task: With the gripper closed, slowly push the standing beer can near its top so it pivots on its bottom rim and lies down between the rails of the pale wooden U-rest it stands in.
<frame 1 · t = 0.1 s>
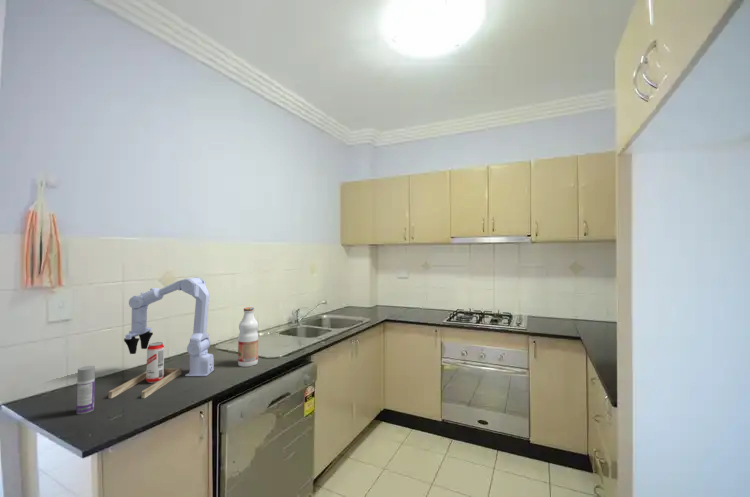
hand: (138, 351, 151), 10 cm above the table, tool pointing down, fingers open, 7 cm apart
beer can: (154, 381, 142), resting in u rest
fruit juice: (248, 364, 165), on the table
u rest: (147, 385, 137), on the table
container: (85, 411, 115), on the table
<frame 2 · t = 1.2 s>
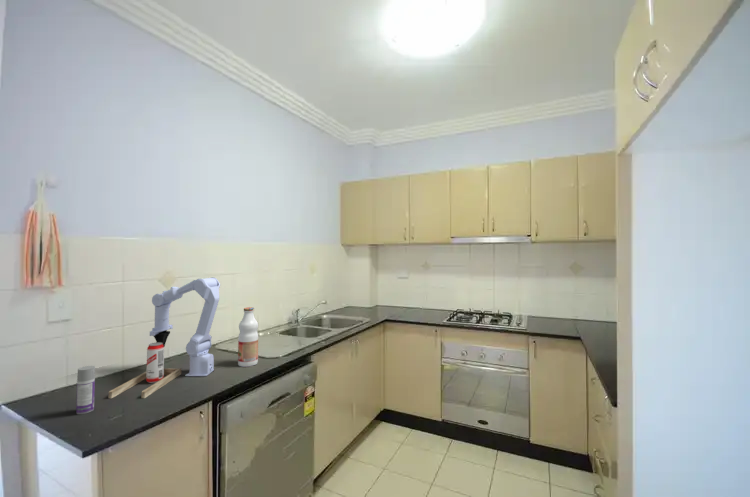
hand: (161, 347, 156), 10 cm above the table, tool pointing down, fingers closed
nothing on the table moved.
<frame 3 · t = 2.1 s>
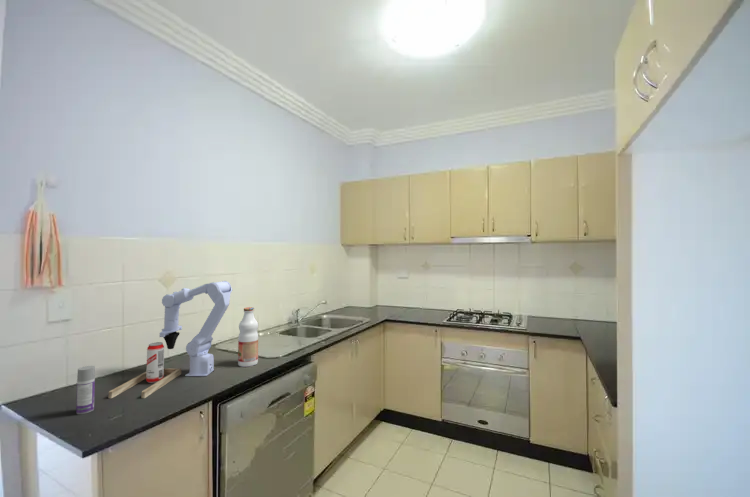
hand: (170, 348, 154), 10 cm above the table, tool pointing down, fingers closed
nothing on the table moved.
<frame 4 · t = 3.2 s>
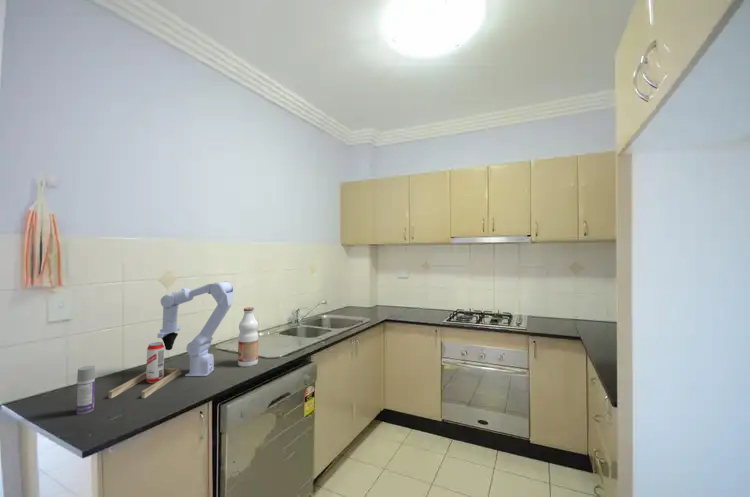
hand: (168, 349, 153), 10 cm above the table, tool pointing down, fingers closed
nothing on the table moved.
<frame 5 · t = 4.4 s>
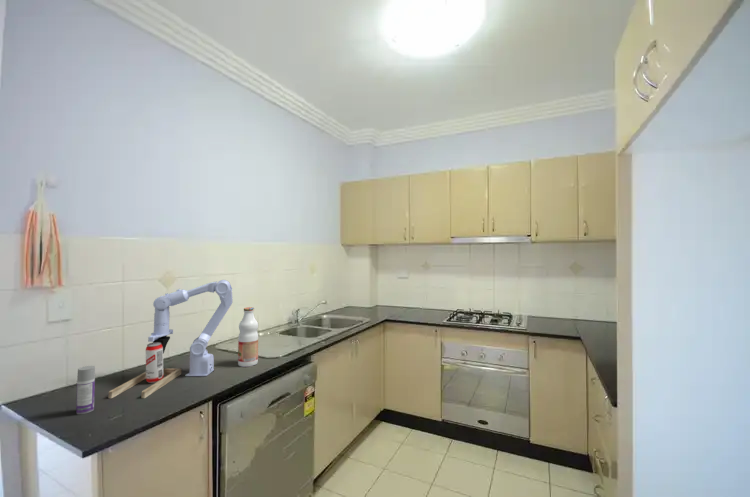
hand: (160, 353, 146), 10 cm above the table, tool pointing down, fingers closed
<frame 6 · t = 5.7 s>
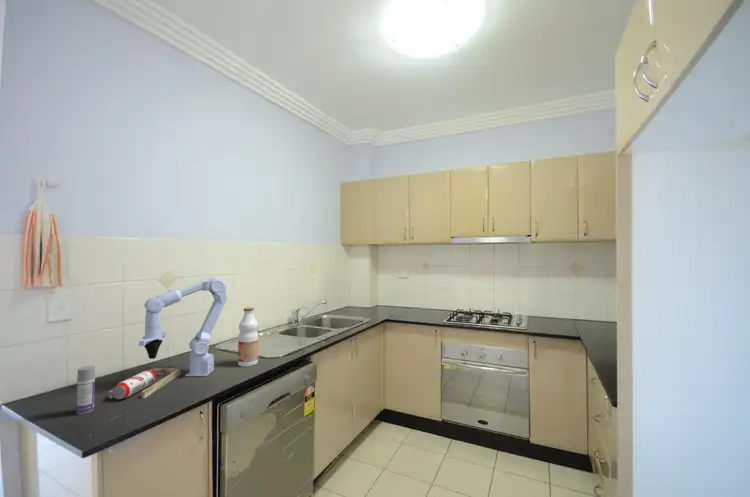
hand: (152, 358, 140), 10 cm above the table, tool pointing down, fingers closed
beer can: (150, 376, 139), point 3 cm above the table
everything else where it was.
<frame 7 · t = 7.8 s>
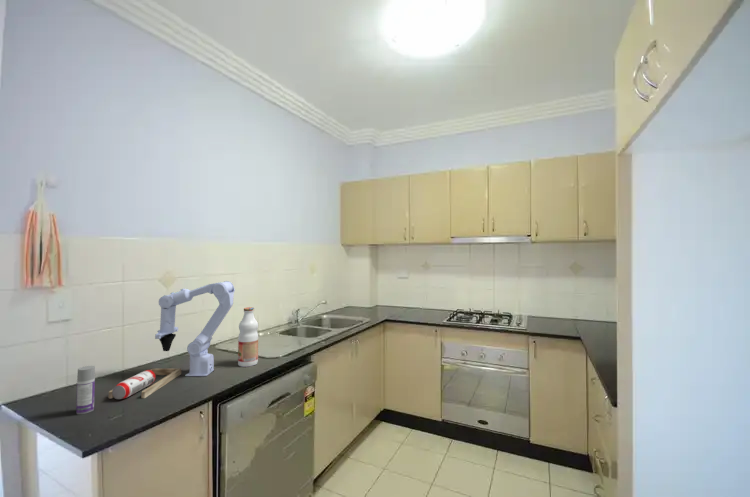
hand: (166, 350, 151), 10 cm above the table, tool pointing down, fingers closed
nothing on the table moved.
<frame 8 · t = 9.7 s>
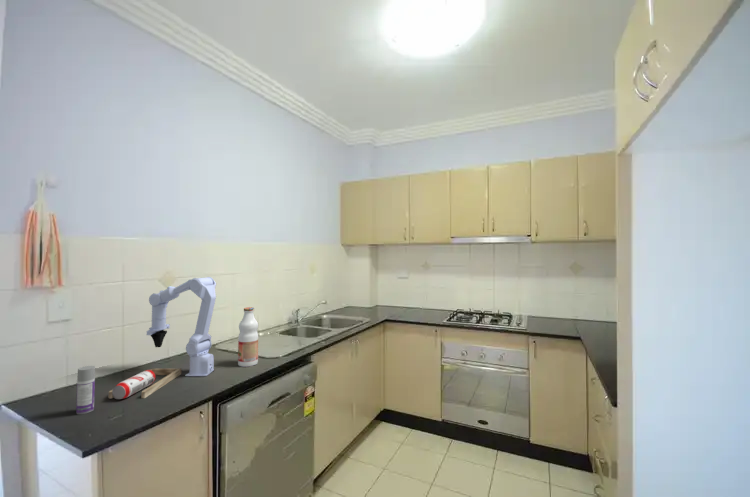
hand: (158, 346, 157), 10 cm above the table, tool pointing down, fingers closed
nothing on the table moved.
at the end: beer can tilted 90°; beer can inside the target area (1.6 cm from its centre), point 3.1 cm above the table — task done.
